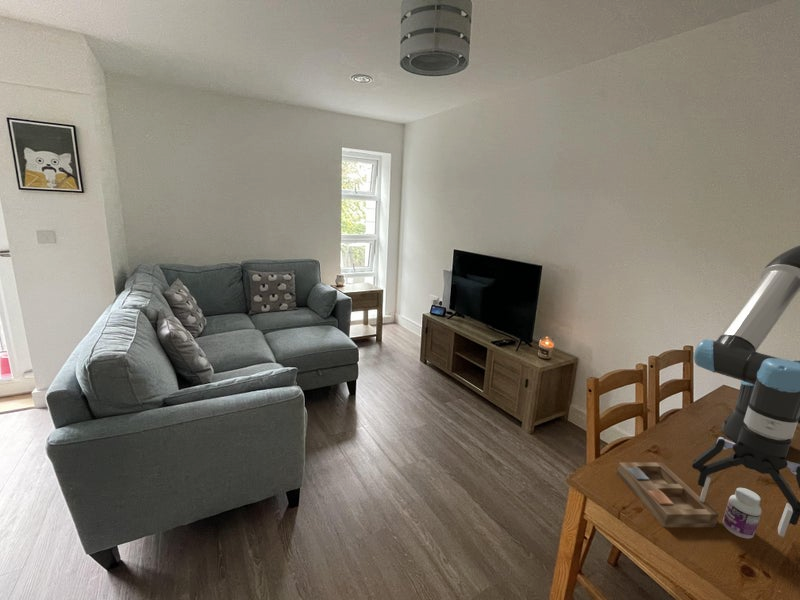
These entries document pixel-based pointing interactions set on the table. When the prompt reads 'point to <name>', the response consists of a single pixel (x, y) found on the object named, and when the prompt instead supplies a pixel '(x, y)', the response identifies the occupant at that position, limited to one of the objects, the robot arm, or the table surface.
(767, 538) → the table surface
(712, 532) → the table surface
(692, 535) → the table surface
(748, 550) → the table surface
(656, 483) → the socket block
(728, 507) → the pill bottle
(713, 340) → the robot arm
